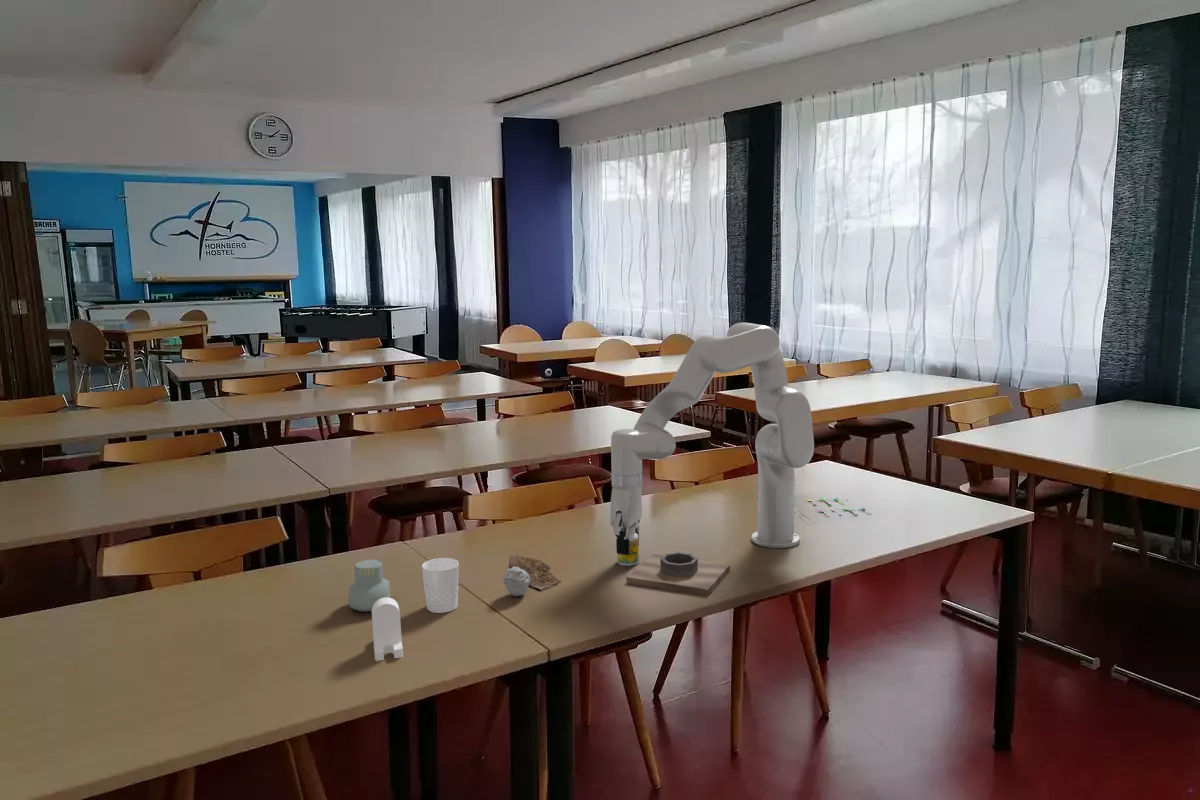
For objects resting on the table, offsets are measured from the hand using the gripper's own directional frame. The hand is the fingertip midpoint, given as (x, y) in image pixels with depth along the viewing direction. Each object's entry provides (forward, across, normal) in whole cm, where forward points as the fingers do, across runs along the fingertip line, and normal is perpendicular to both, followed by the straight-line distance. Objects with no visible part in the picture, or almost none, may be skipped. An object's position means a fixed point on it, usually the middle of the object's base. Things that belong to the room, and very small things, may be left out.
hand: (627, 549), depth 211 cm
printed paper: (+4, -68, +40) cm, 79 cm away
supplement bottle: (+4, 0, 0) cm, 4 cm away
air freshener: (+4, +47, -42) cm, 63 cm away
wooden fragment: (+4, +15, -20) cm, 25 cm away
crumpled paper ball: (+4, +29, -15) cm, 33 cm away
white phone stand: (+4, +62, -25) cm, 67 cm away
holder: (+3, +4, +15) cm, 16 cm away
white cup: (+4, +41, -27) cm, 49 cm away
